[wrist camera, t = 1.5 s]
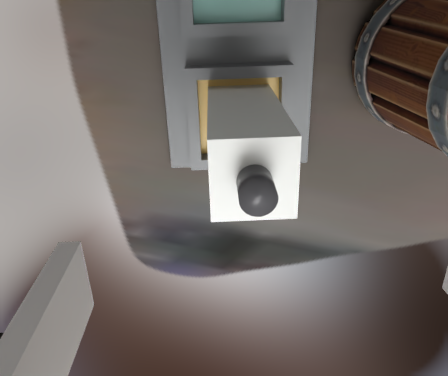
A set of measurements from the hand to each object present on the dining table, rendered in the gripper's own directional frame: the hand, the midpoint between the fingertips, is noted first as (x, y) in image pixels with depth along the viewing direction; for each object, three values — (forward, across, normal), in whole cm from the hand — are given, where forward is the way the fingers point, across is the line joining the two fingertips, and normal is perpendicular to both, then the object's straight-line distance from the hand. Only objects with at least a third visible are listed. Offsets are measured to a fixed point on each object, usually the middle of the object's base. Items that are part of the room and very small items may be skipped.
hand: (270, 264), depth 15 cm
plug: (+19, 0, 0) cm, 19 cm away
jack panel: (+20, 0, +5) cm, 20 cm away
